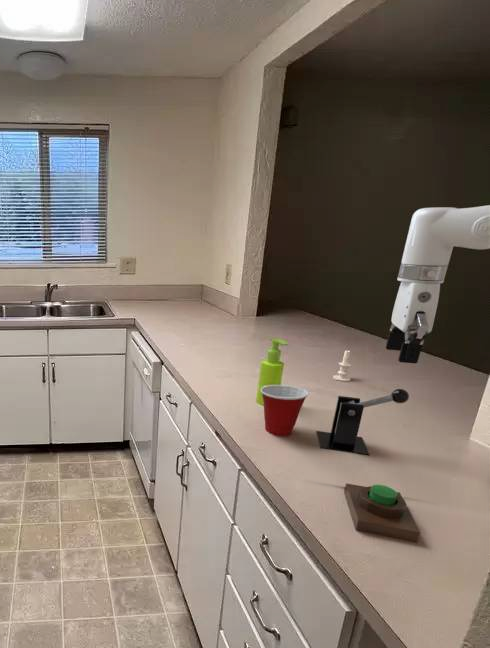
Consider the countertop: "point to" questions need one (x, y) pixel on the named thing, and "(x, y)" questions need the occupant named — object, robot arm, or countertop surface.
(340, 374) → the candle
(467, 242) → the robot arm
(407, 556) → the countertop surface
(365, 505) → the button block
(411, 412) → the countertop surface
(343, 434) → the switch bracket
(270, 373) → the soap dispenser
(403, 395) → the light lever
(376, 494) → the light button
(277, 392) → the plastic cup
